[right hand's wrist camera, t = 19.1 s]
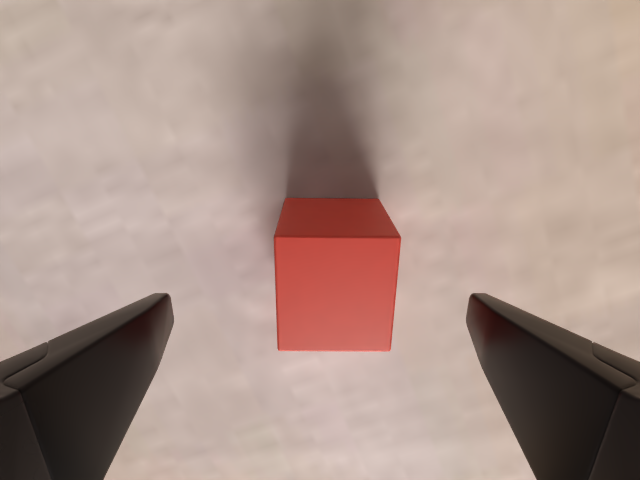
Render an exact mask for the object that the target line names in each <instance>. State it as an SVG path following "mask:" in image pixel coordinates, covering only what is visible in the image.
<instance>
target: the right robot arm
mask: <svg viewBox="0 0 640 480" xmlns="http://www.w3.org/2000/svg"><path fill="white" fill-rule="evenodd" d="M173 323H174V315H173V309H172V303H171V298H170V295H169V294H167V293H155V294H152V295H150V296H148V297H145V298H143V299H141V300H139V301H136V302H134V303H132V304H130V305H128V306H125V307H123V308H121V309H119V310H116V311H114V312H112V313H110V314H108V315H105V316H103V317H101V318H99V319H96V320H94V321H92V322H90V323H88V324H85V325H83V326H81V327H79V328H76V329H74V330H72V331H70V332H67V333H65V334H63V335H61V336H59V337H56V338H54V339H52V340H50V341H48V343H47V342H45V343H43V344H41V345H38V346H36V347H34V348H32V349H29V350H27V351H25V352H23V353H20V354H18V355H16V356H13V357H11V358H8V359H6V360H4V361H1V362H0V480H103V479H104V477H105V475H106V473H107V471H108V469H109V467H110V465H111V463H112V461H113V459H114V457H115V455H116V453H117V451H118V449H119V447H120V445H121V443H122V440H123V438H124V436H125V434H126V432H127V430H128V428H129V426H130V424H131V422H132V420H133V418H134V416H135V414H136V412H137V410H138V408H139V406H140V404H141V402H142V400H143V398H144V396H145V394H146V392H147V390H148V388H149V386H150V383H151V381H152V379H153V377H154V375H155V373H156V371H157V369H158V367H159V364H160V361H161V359H162V356H163V353H164V350H165V347H166V344H167V341H168V339H169V336H170V333H171V330H172V327H173ZM466 323H467V327H468V330H469V333H470V336H471V339H472V341H473V344H474V347H475V350H476V353H477V356H478V359H479V361H480V364H481V367H482V369H483V371H484V373H485V375H486V377H487V379H488V381H489V383H490V386H491V388H492V390H493V392H494V394H495V396H496V398H497V400H498V402H499V404H500V406H501V408H502V410H503V412H504V414H505V416H506V418H507V420H508V422H509V424H510V426H511V428H512V430H513V432H514V434H515V436H516V438H517V440H518V443H519V445H520V447H521V449H522V451H523V453H524V455H525V457H526V459H527V461H528V463H529V465H530V467H531V469H532V471H533V473H534V475H535V477H536V479H537V480H640V362H639V361H636V360H634V359H632V358H629V357H627V356H624V355H622V354H620V353H617V352H615V351H613V350H611V349H608V348H606V347H604V346H602V345H599V344H597V343H595V342H593V343H592V341H590V340H588V339H586V338H584V337H581V336H579V335H577V334H575V333H573V332H570V331H568V330H566V329H564V328H561V327H559V326H557V325H555V324H552V323H550V322H548V321H546V320H544V319H541V318H539V317H537V316H535V315H532V314H530V313H528V312H526V311H524V310H521V309H519V308H517V307H515V306H512V305H510V304H508V303H506V302H504V301H501V300H499V299H497V298H495V297H492V296H490V295H488V294H485V293H473V294H471V295H470V298H469V303H468V309H467V316H466Z"/></svg>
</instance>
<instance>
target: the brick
mask: <svg viewBox="0 0 640 480" xmlns="http://www.w3.org/2000/svg"><path fill="white" fill-rule="evenodd" d="M400 244H401V236H400V235H399V233H398V231H397V229H396V228H395V226H394V224H393V223H392V221H391V219H390V217H389V216H388V214H387V212H386V210H385V209H384V207H383V205H382V204H381V202H380V200H379V199H348V198H285V201H284V204H283V208H282V211H281V214H280V218H279V221H278V225H277V228H276V231H275V235H274V256H275V286H276V315H277V344H278V350H279V351H390V349H391V340H392V330H393V319H394V308H395V298H396V287H397V276H398V266H399V255H400Z"/></svg>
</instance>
